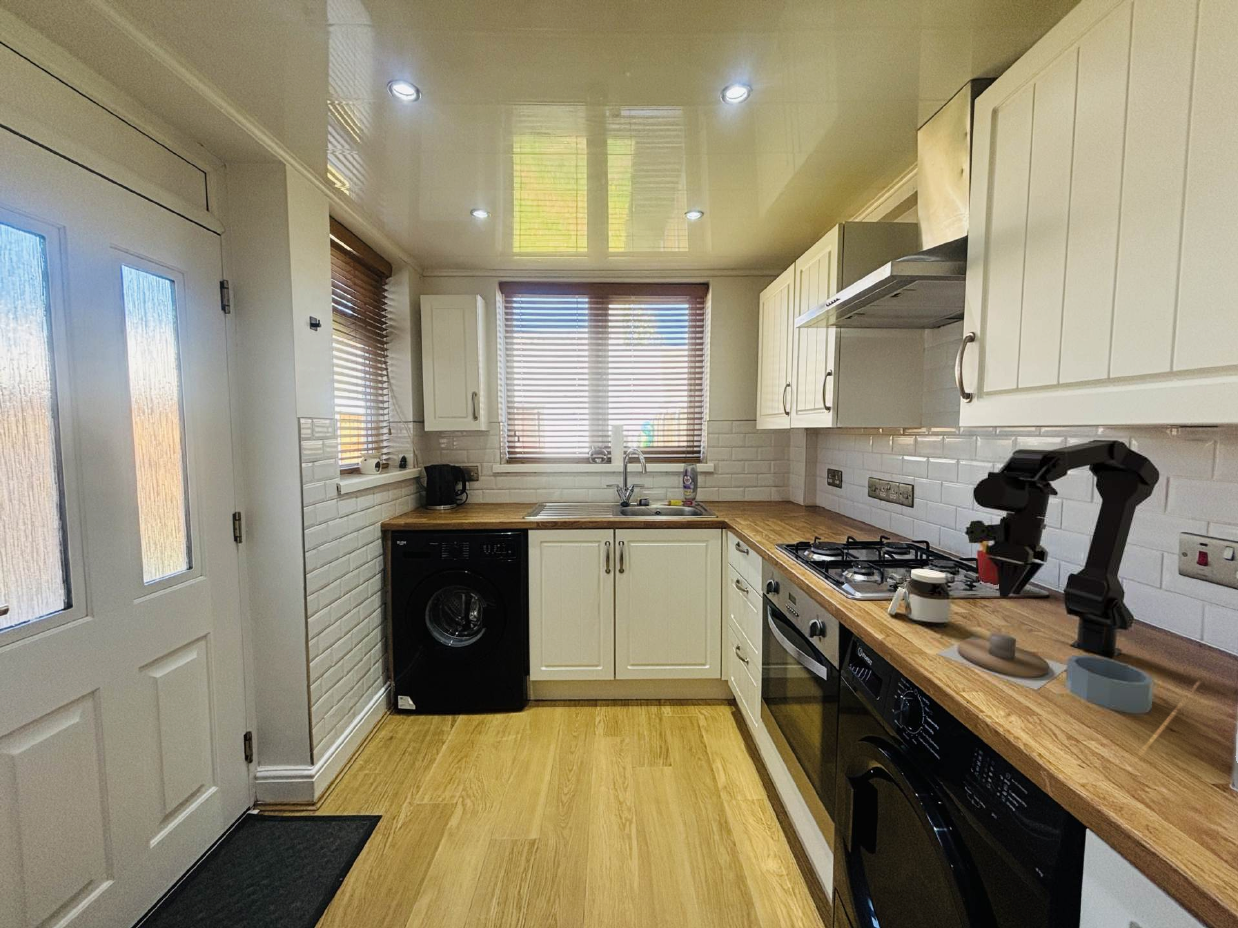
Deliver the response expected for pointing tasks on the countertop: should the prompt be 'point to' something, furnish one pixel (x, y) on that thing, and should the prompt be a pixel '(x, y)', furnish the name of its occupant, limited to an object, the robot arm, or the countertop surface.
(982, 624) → the countertop surface
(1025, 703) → the countertop surface
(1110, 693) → the bowl
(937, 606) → the spread jar
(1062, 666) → the mat
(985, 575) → the french fries
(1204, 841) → the countertop surface
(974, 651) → the lid
